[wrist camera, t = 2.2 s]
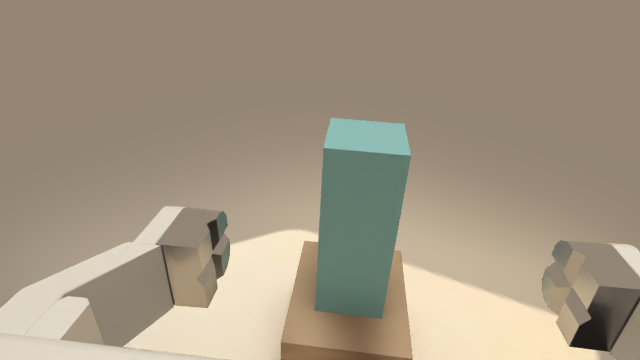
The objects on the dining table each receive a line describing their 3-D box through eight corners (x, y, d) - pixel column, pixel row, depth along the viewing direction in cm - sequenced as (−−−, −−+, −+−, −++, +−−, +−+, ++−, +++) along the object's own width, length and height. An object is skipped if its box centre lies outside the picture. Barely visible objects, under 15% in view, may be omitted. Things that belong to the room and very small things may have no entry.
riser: (281, 400, 27) (280, 342, 24) (302, 293, 36) (304, 241, 33) (398, 416, 26) (412, 358, 23) (391, 303, 35) (400, 251, 32)
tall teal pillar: (314, 310, 26) (323, 148, 20) (321, 265, 30) (330, 118, 24) (382, 318, 26) (411, 155, 20) (380, 272, 30) (404, 124, 24)
